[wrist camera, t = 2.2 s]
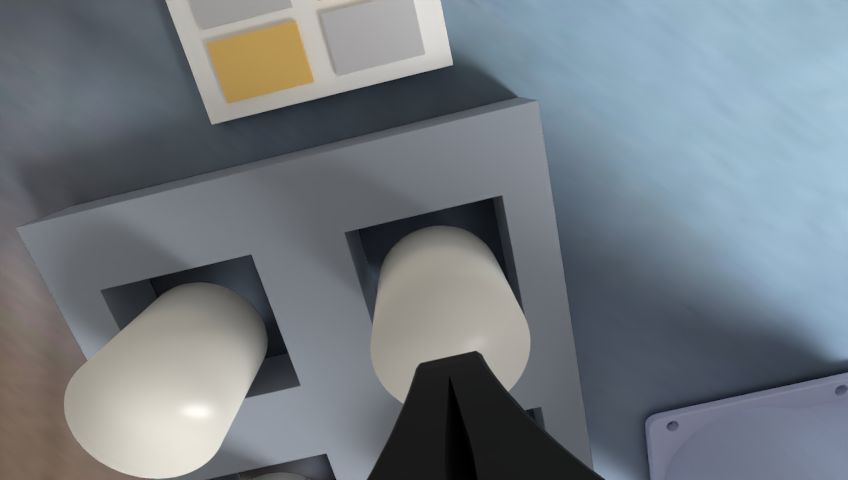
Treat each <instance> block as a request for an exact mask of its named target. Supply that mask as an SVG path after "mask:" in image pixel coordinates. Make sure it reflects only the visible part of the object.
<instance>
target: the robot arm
mask: <svg viewBox="0 0 848 480" xmlns="http://www.w3.org/2000/svg"><path fill="white" fill-rule="evenodd" d="M672 421H673V422H672ZM669 422H672V423H671V424H669V425H667V424H668V423H669ZM645 429H646V439H647V449H648V459H649V469H650V479H651V480H848V373H843V374H839V375H834V376H829V377H825V378H820V379H815V380H811V381H806V382H801V383H797V384H792V385H787V386H783V387H778V388H773V389H769V390H764V391H759V392H755V393H750V394H745V395H741V396H736V397H731V398H727V399H722V400H717V401H713V402H708V403H703V404H699V405H694V406H689V407H685V408H680V409H675V410H671V411H666V412H661V413H657V414H654V415H651V416H650V417H649V418H648V419H647V420H646V423H645ZM367 480H605V479H604V478H602V477H601V476H600V475H598V474H597V473H596V472H594V471H593V470H592V469H590V468H589V467H588V466H586V465H585V464H584V463H583V462H581V461H580V460H579V459H578V458H576V457H575V456H574V455H573V454H571V453H570V452H569V451H568V450H567V449H565V448H564V447H563V446H562V445H561V444H560V443H558V442H557V441H556V440H555V439H554V438H553V437H552V436H551V435H550V434H548V433H547V432H546V431H545V430H544V429H543V428H542V427H541V426H540V425H539V424H538V423H537V422H536V421H535V420H534V419H533V418H532V417H531V416H530V415H529V414H528V413H527V412H526V411H525V410H524V409H523V408H522V407H521V406H520V404H519V403H518V402H517V401H516V400H515V399H514V398H513V397H512V396H511V395H510V393H509V392H508V391H507V390H506V389H505V388H504V386H503V385H502V384H501V383H500V381H499V380H498V379H497V377H496V376H495V375H494V373H493V372H492V371H491V369H490V368H489V366H488V365H487V363H486V361H485V359H484V358H483V355H482V354H481V353H479V352H477V351H472V352H468V353H463V354H459V355H454V356H450V357H445V358H441V359H436V360H432V361H427V362H423V363H420V364H419V365H418V367H417V368H416V370H415V374H414V377H413V380H412V383H411V386H410V389H409V391H408V394H407V397H406V399H405V402H404V404H403V407H402V409H401V411H400V414H399V416H398V418H397V421H396V423H395V425H394V427H393V430H392V432H391V434H390V436H389V438H388V440H387V442H386V444H385V446H384V448H383V450H382V452H381V454H380V456H379V458H378V460H377V462H376V463H375V465H374V467H373V469H372V471H371V473H370V475H369V476H368V478H367Z"/></svg>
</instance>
